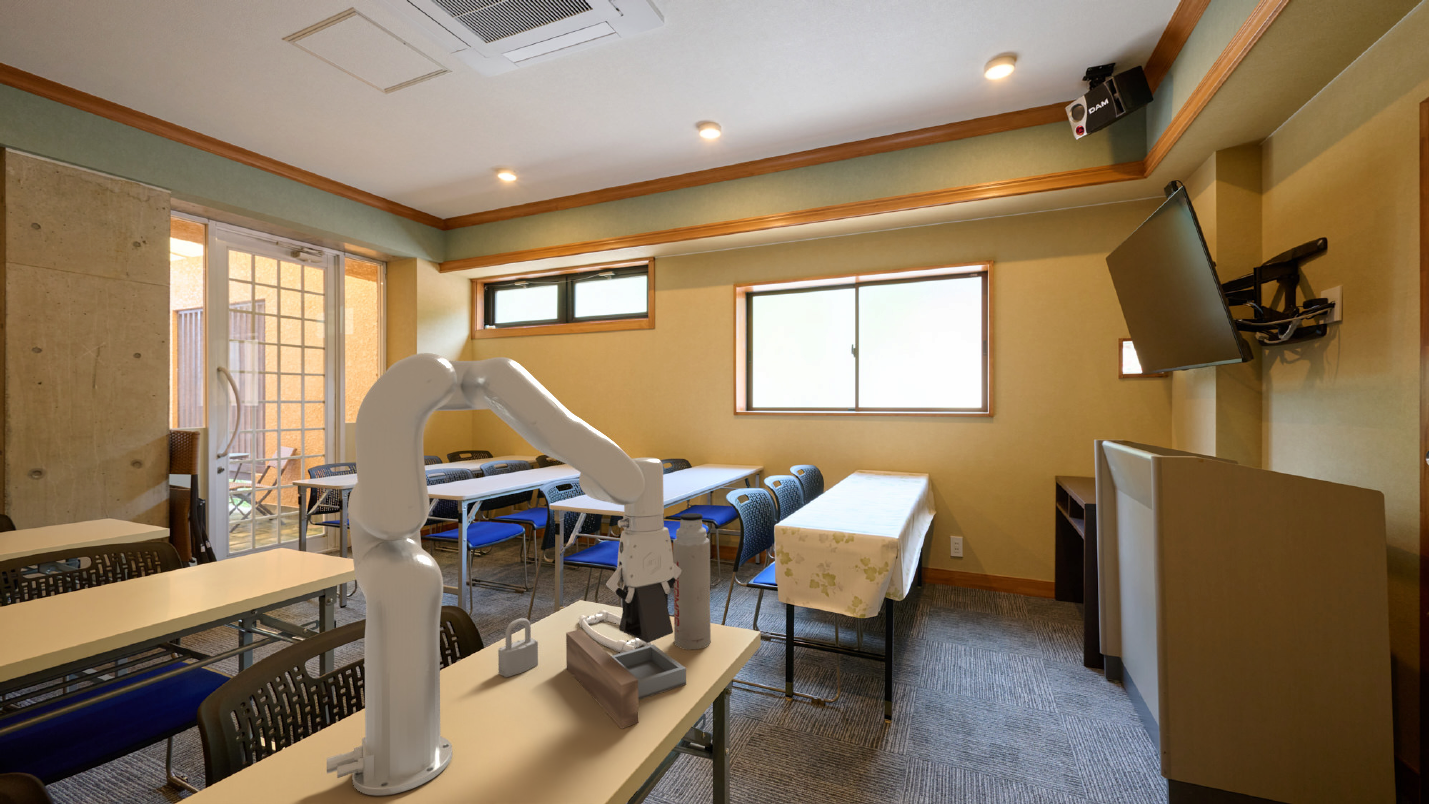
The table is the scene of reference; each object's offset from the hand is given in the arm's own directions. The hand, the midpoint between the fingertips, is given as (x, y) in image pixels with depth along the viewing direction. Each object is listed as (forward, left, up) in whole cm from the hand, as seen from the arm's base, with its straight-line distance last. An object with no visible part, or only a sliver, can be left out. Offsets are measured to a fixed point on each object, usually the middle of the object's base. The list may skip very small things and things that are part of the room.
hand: (645, 616), depth 108 cm
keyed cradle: (0, 0, -12) cm, 12 cm away
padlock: (-19, +18, -12) cm, 29 cm away
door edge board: (-10, 0, -12) cm, 15 cm away
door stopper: (0, 0, -3) cm, 3 cm away
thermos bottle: (+16, +9, -12) cm, 22 cm away
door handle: (+3, +23, -12) cm, 26 cm away
